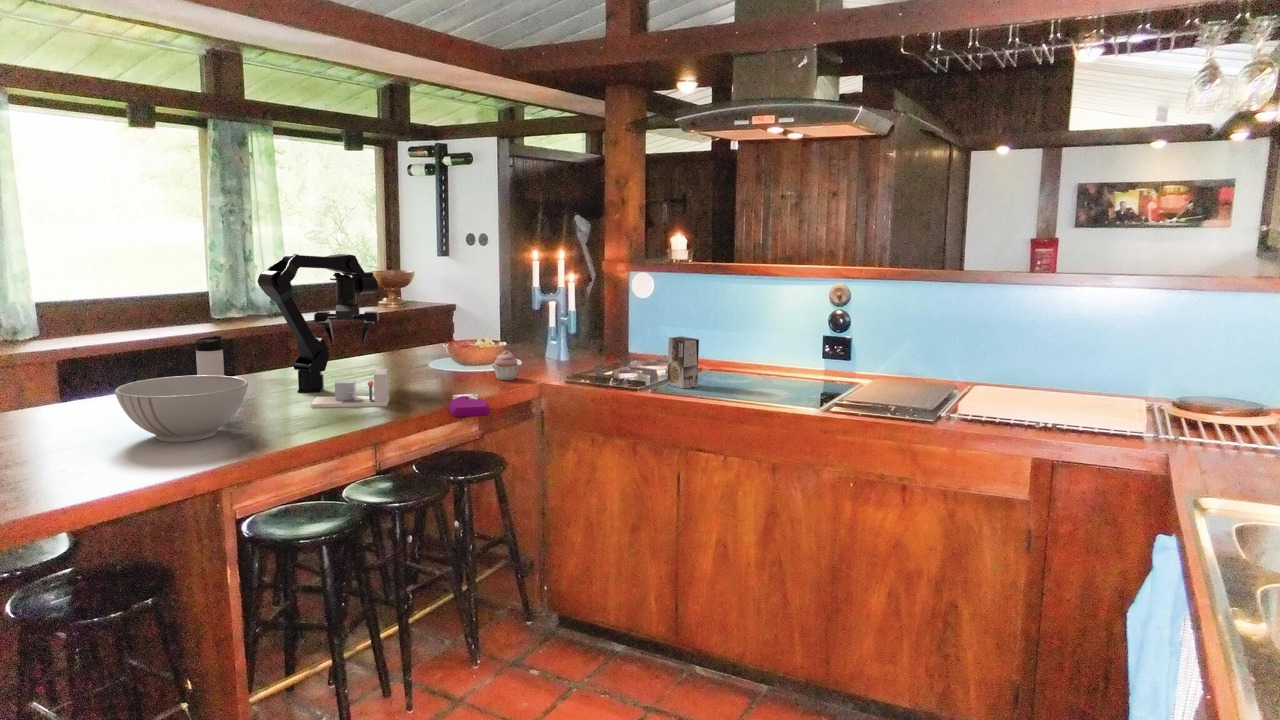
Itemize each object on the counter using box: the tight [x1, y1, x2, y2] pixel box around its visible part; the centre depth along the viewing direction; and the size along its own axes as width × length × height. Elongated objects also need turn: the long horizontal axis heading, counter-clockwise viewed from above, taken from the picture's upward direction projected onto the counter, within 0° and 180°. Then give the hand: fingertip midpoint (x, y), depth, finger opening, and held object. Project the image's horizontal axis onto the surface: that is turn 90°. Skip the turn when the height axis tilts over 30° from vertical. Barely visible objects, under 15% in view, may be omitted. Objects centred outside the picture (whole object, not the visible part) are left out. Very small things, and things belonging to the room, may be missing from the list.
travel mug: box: [195, 335, 225, 376], centre depth 210 cm, size 6×7×20 cm
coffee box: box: [667, 336, 700, 389], centre depth 264 cm, size 9×6×16 cm
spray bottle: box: [448, 393, 491, 418], centre depth 225 cm, size 3×11×24 cm
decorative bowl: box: [114, 374, 249, 443], centre depth 186 cm, size 27×27×12 cm
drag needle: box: [367, 380, 374, 400], centre depth 224 cm, size 2×2×5 cm
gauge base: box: [310, 368, 390, 409], centre depth 225 cm, size 20×10×9 cm, turn 104°
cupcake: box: [491, 349, 521, 381], centre depth 269 cm, size 9×9×10 cm
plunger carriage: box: [334, 379, 357, 400], centre depth 225 cm, size 5×8×5 cm, turn 14°
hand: (347, 343), depth 252 cm, fingers open, 9 cm apart
